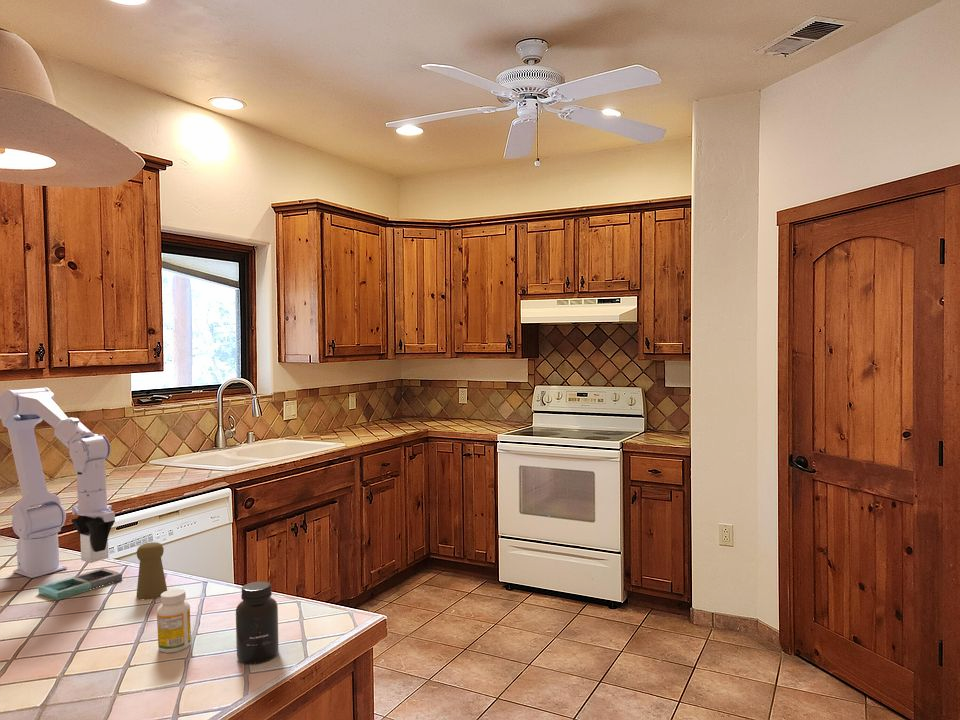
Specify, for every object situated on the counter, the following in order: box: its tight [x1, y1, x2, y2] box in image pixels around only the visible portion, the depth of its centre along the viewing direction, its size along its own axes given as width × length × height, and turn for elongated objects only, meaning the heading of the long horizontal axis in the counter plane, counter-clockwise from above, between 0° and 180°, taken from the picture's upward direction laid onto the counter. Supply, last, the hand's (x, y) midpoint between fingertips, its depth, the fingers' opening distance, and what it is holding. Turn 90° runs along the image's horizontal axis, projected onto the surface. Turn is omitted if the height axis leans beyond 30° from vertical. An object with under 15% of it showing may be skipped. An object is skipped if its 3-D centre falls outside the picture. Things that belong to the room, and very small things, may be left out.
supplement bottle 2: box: [235, 581, 279, 665], centre depth 117 cm, size 7×7×12 cm
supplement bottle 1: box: [156, 588, 192, 654], centre depth 121 cm, size 5×5×10 cm
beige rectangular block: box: [79, 532, 109, 564], centre depth 156 cm, size 4×4×6 cm
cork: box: [136, 541, 168, 601], centre depth 147 cm, size 6×6×11 cm
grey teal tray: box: [38, 567, 123, 601], centre depth 154 cm, size 8×14×2 cm, turn 147°
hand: (94, 549), depth 156 cm, fingers closed on beige rectangular block, 4 cm apart
